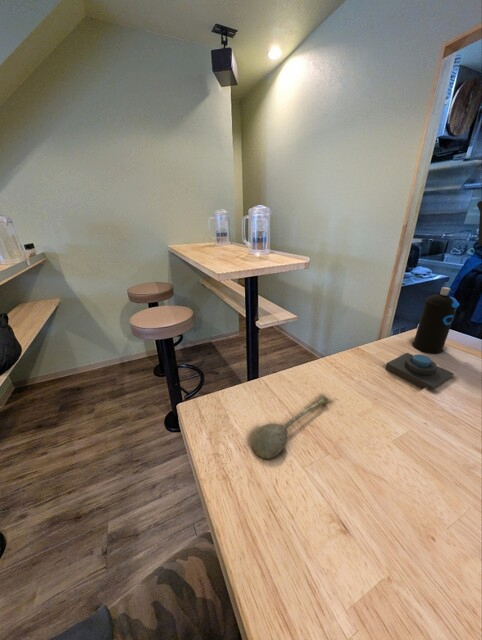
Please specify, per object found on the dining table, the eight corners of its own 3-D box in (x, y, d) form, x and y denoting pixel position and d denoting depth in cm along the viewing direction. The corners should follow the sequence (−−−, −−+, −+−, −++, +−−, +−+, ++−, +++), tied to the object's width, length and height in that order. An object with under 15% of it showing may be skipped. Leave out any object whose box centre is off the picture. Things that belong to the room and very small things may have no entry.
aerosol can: (409, 348, 81) (426, 289, 73) (415, 338, 86) (431, 282, 78) (440, 357, 76) (463, 294, 67) (444, 346, 81) (465, 287, 73)
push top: (432, 365, 67) (434, 359, 66) (424, 370, 65) (426, 364, 64) (416, 358, 70) (418, 352, 69) (408, 362, 68) (410, 357, 67)
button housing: (451, 380, 66) (456, 367, 65) (431, 394, 62) (435, 381, 60) (405, 358, 76) (408, 347, 74) (385, 369, 72) (387, 357, 70)
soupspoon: (245, 444, 52) (266, 469, 47) (245, 433, 50) (266, 458, 46) (315, 394, 63) (337, 411, 58) (316, 384, 61) (340, 400, 57)
